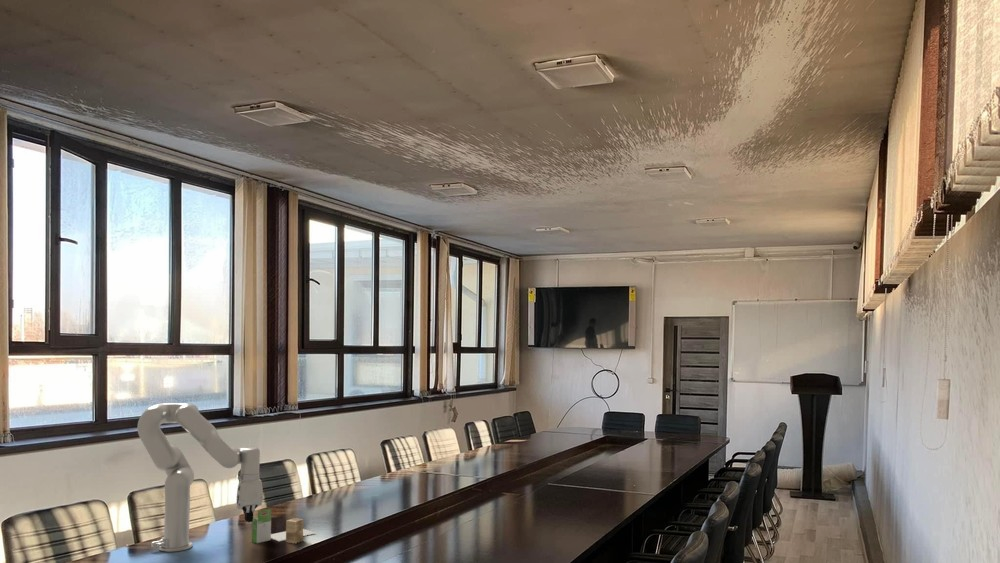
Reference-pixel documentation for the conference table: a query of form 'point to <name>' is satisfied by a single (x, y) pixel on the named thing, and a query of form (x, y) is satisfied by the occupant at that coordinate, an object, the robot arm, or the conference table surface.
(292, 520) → the oak block
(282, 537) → the felt mat
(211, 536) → the conference table surface
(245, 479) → the robot arm
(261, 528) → the ink box
